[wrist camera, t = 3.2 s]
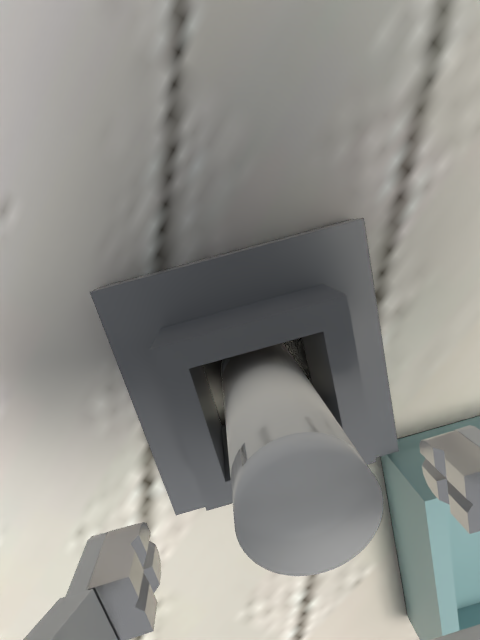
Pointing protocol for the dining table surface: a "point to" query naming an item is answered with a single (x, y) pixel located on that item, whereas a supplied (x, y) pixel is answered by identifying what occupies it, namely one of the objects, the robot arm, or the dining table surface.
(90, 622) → the robot arm
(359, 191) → the dining table surface
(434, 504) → the parts tray
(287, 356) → the cylinder
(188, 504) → the grey square socket
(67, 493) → the dining table surface
